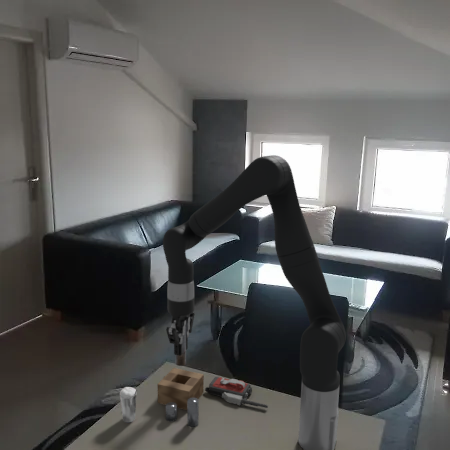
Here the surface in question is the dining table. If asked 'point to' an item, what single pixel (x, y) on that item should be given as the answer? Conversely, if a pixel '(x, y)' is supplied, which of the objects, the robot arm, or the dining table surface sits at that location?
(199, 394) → the hole block
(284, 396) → the dining table surface
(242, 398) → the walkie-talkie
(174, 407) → the pin short
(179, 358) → the pin long
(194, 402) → the pin medium
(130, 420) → the milkshake
